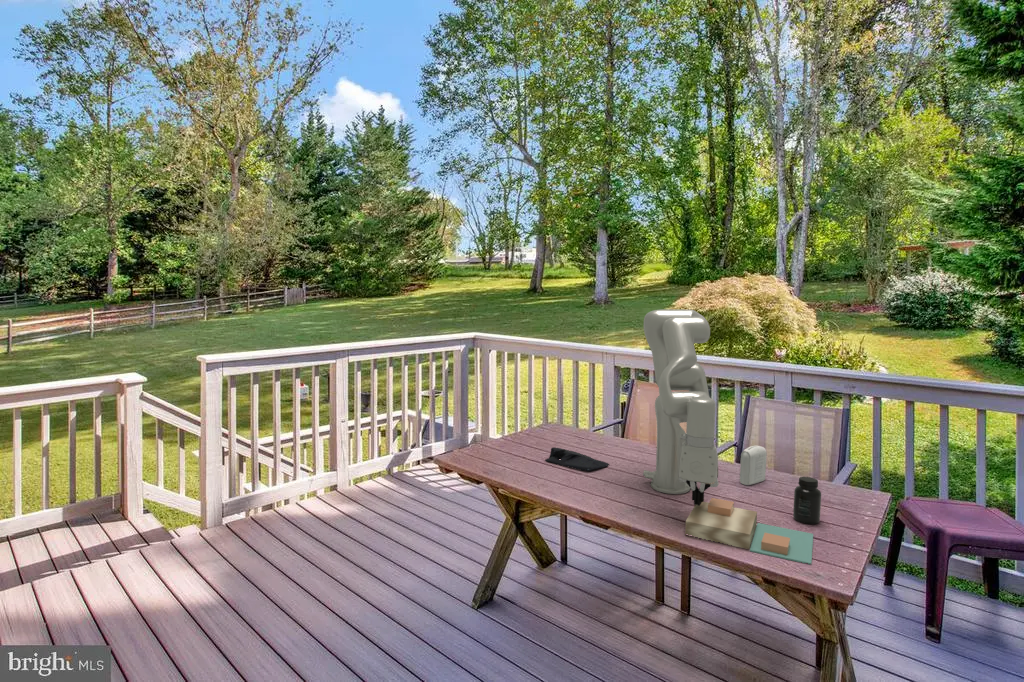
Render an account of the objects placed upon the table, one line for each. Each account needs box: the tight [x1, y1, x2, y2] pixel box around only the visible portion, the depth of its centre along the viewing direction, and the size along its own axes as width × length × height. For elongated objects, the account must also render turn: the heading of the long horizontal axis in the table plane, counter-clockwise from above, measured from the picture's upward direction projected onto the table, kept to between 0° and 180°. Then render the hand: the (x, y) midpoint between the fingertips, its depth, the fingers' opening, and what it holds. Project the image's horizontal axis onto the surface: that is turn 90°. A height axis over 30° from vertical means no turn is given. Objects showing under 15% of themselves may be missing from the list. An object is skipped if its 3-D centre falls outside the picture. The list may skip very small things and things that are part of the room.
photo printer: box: [739, 445, 768, 486], centre depth 190 cm, size 10×4×12 cm, turn 123°
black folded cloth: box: [545, 446, 610, 472], centre depth 210 cm, size 15×22×5 cm
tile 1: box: [708, 497, 735, 516], centre depth 157 cm, size 6×6×2 cm
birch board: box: [684, 501, 758, 550], centre depth 154 cm, size 16×16×4 cm
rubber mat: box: [749, 522, 814, 565], centre depth 147 cm, size 14×18×1 cm
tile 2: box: [761, 533, 790, 555], centre depth 143 cm, size 6×6×2 cm
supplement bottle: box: [792, 476, 822, 525], centre depth 160 cm, size 7×7×12 cm
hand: (697, 503), depth 160 cm, fingers closed
